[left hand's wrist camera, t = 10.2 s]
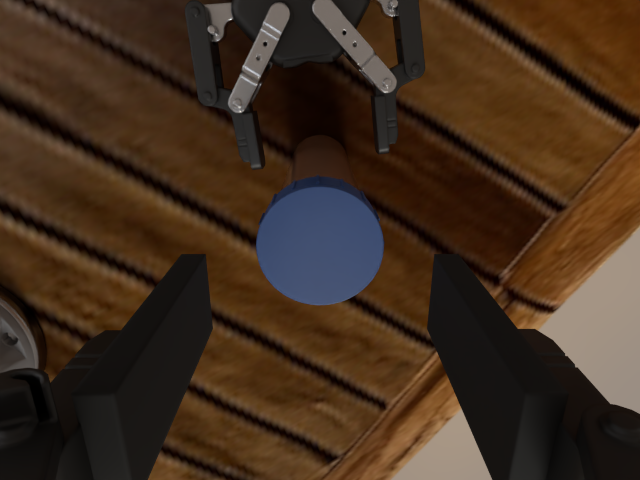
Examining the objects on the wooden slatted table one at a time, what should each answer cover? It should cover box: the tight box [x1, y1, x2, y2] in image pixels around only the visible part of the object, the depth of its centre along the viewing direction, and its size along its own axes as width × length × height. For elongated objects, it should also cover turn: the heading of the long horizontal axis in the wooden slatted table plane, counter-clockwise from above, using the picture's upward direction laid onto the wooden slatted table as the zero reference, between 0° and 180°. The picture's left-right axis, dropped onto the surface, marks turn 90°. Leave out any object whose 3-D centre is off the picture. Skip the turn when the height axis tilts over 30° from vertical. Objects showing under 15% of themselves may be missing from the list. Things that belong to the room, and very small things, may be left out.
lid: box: [256, 175, 384, 305], centre depth 19 cm, size 5×5×2 cm
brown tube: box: [281, 135, 359, 190], centre depth 27 cm, size 5×5×19 cm
